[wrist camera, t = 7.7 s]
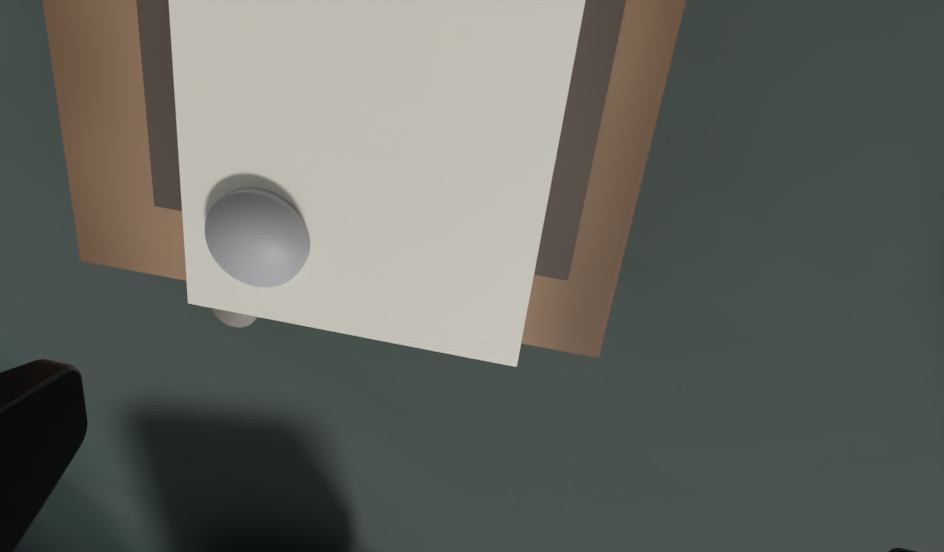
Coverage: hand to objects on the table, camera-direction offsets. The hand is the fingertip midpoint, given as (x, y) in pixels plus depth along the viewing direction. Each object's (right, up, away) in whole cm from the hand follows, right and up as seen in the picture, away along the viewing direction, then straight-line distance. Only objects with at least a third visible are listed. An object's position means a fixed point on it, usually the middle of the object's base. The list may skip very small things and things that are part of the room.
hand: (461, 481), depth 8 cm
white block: (-1, +7, +5) cm, 9 cm away
